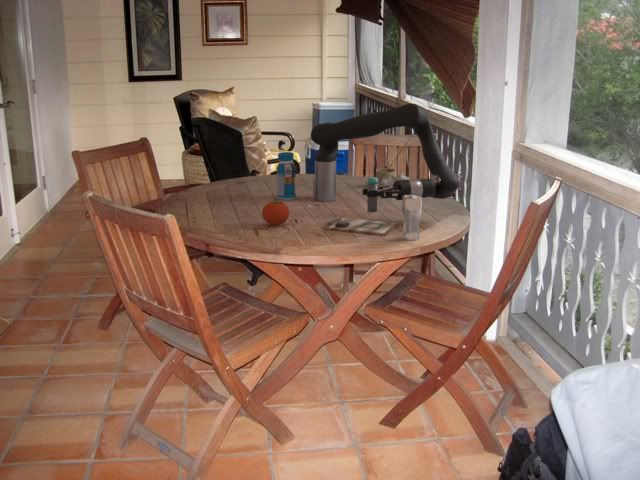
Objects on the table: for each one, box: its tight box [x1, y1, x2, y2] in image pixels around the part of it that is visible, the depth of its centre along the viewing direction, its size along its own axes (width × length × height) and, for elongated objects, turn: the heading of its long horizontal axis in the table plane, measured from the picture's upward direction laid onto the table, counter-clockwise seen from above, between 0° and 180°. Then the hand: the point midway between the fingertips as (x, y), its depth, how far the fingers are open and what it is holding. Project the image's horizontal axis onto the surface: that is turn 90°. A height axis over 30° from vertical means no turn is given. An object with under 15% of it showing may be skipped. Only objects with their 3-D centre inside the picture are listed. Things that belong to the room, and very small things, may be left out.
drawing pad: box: [322, 216, 399, 237], centre depth 253 cm, size 24×17×3 cm
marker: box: [366, 176, 379, 213], centre depth 248 cm, size 4×4×12 cm
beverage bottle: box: [275, 151, 297, 201], centre depth 297 cm, size 8×8×20 cm
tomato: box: [261, 199, 290, 226], centre depth 255 cm, size 10×10×10 cm
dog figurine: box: [380, 172, 410, 186], centre depth 302 cm, size 5×13×11 cm, turn 74°
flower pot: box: [375, 168, 397, 185], centre depth 318 cm, size 9×9×9 cm
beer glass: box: [401, 195, 423, 241], centre depth 236 cm, size 7×7×15 cm
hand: (365, 193), depth 247 cm, fingers closed on marker, 3 cm apart
